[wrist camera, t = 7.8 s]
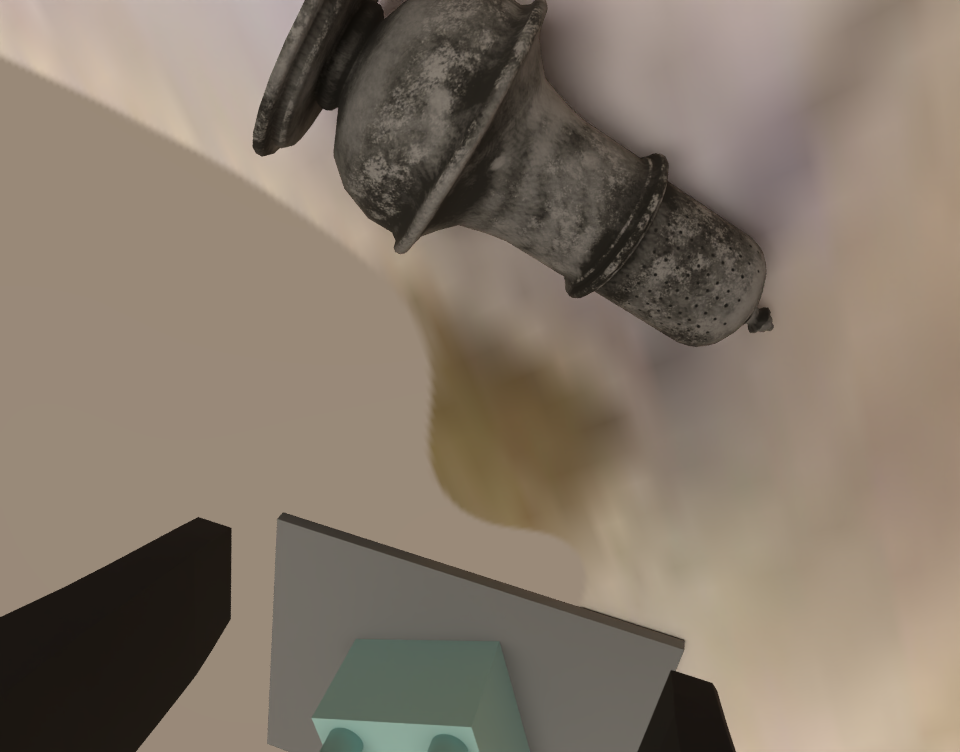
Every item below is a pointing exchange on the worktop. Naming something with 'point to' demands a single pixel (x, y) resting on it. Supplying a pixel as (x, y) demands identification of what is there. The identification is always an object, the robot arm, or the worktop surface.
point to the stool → (421, 699)
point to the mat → (455, 617)
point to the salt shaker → (504, 158)
